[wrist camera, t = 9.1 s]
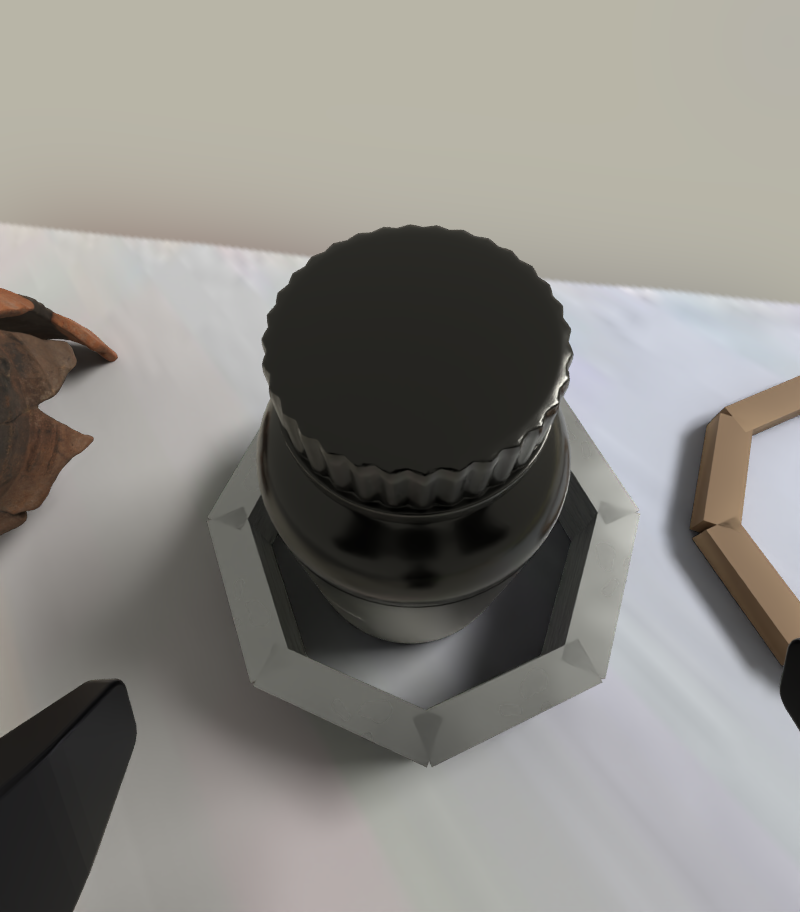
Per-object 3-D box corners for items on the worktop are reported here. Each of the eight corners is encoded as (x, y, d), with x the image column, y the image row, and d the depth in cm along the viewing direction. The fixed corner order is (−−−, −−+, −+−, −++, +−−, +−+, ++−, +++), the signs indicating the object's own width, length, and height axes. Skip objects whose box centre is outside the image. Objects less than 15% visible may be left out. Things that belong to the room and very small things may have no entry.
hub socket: (313, 814, 15) (292, 836, 12) (212, 463, 20) (180, 426, 18) (668, 638, 17) (717, 625, 14) (493, 358, 22) (504, 310, 19)
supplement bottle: (291, 624, 17) (98, 488, 7) (343, 448, 20) (267, 156, 10) (493, 669, 17) (642, 599, 6) (517, 480, 20) (645, 203, 9)
